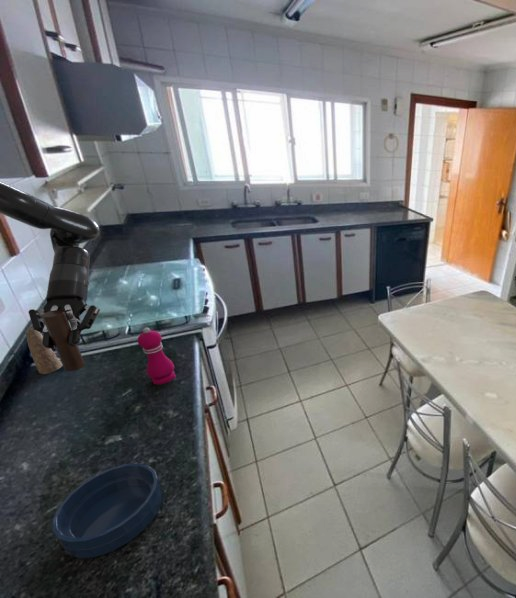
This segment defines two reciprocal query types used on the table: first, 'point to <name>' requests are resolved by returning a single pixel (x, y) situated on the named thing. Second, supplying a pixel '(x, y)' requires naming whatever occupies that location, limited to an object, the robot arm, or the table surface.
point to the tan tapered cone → (41, 353)
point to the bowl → (108, 510)
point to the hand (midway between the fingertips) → (61, 346)
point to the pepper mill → (156, 357)
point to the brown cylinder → (63, 339)
